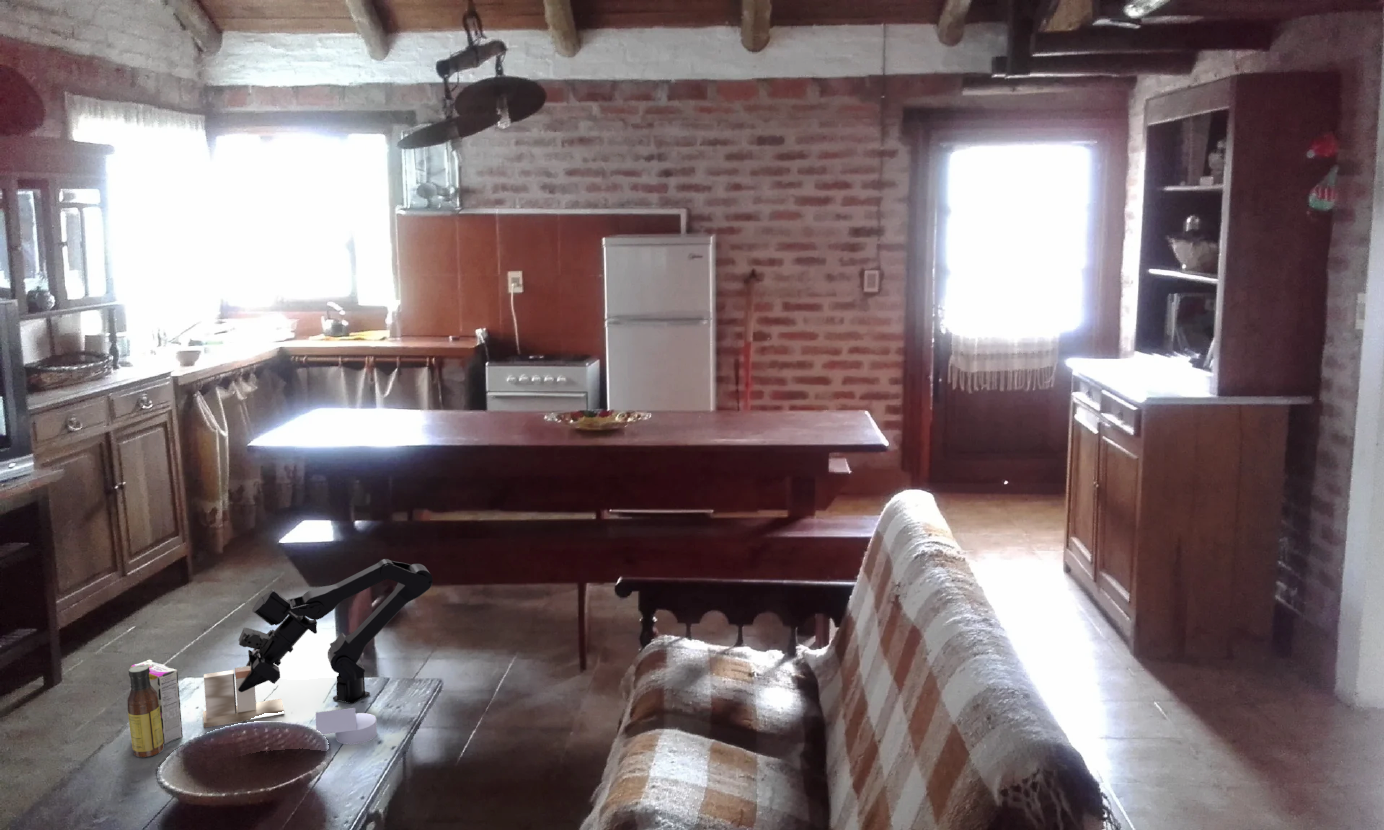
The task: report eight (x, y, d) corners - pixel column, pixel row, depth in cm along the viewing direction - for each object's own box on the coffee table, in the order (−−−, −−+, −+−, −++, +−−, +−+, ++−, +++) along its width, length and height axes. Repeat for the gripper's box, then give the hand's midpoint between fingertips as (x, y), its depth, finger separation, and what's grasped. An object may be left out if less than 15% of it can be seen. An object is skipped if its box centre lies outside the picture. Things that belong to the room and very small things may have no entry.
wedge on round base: (317, 749, 244) (377, 740, 248) (315, 720, 243) (376, 713, 247) (317, 731, 252) (375, 724, 256) (315, 704, 251) (374, 697, 255)
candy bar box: (134, 733, 251) (129, 665, 248) (155, 725, 255) (150, 658, 253) (163, 745, 245) (157, 676, 242) (183, 737, 249) (178, 668, 247)
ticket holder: (281, 702, 268) (279, 659, 266) (284, 714, 261) (281, 669, 259) (203, 715, 260) (200, 671, 258) (204, 727, 254) (200, 681, 252)
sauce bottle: (158, 743, 246) (151, 659, 243) (168, 752, 242) (162, 666, 239) (127, 752, 242) (120, 666, 239) (137, 762, 237) (129, 675, 234)
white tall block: (255, 704, 263) (253, 665, 261) (256, 709, 260) (253, 669, 259) (237, 707, 261) (234, 667, 260) (238, 712, 259) (235, 672, 257)
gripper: (256, 604, 267) (210, 654, 264) (261, 629, 250) (212, 683, 248) (292, 630, 272) (247, 680, 269) (300, 656, 255) (252, 709, 252)
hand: (239, 687), depth 259 cm, fingers open, 4 cm apart
